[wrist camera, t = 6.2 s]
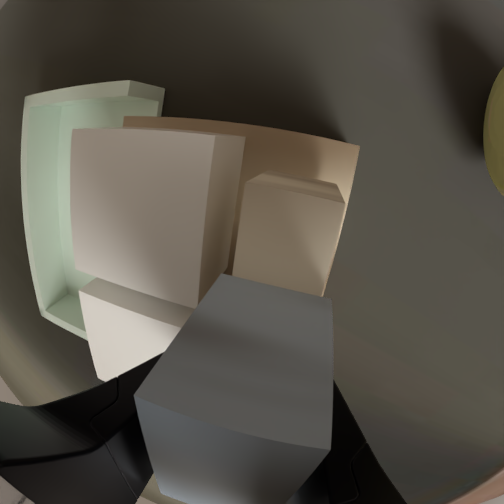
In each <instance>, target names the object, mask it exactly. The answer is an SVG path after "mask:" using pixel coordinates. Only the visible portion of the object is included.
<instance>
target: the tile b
mask: <svg viewBox="0 0 504 504" xmlns="http://www.w3.org/2000/svg"><path fill="white" fill-rule="evenodd" d="M245 139H246V137H243V136H235V135H228V134H219V133H211V132H201V131H191V130H179V129H165V128H147V127H97V128H78V129H72V137H71V155H70V209H71V228H72V241H73V252H74V261H75V269H76V270H79V271H81V272H84V273H87V274H90V275H92V276H95V277H98V278H101V279H103V280H106V281H109V282H112V283H115V284H118V285H121V286H124V287H127V288H130V289H133V290H136V291H139V292H142V293H145V294H148V295H151V296H154V297H157V298H160V299H164V300H167V301H170V302H173V303H177V304H180V305H183V306H187V307H190V308H194V309H196V307H197V306H198V305H199V303H200V302H201V300H202V299H203V298H204V296H205V295H206V294H207V292H208V291H209V289H210V288H211V287H212V285H213V284H214V283H215V281H216V280H217V278H218V277H219V276H220V274H221V273H222V274H223V273H224V271H225V270H226V269H227V267H228V259H229V252H230V244H231V237H232V229H233V222H234V215H235V207H236V200H237V193H238V186H239V179H240V172H241V166H242V159H243V152H244V146H245Z"/></svg>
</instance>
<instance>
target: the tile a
mask: <svg viewBox="0 0 504 504" xmlns="http://www.w3.org/2000/svg"><path fill="white" fill-rule="evenodd" d="M78 291H79V297H80V303H81V308H82V314H83V319H84V324H85V329H86V333H87V338H88V342H89V346H90V350H91V354H92V358H93V362H94V366H95V369H96V373H97V376H98V378H99V379H101V380H103V381H105V382H106V381H108V380H110V379H112V378H114V377H118V375H120V374H122V373H124V372H126V371H128V370H130V369H132V368H134V367H136V366H138V365H140V364H142V363H144V362H146V361H147V360H149V359H151V358H153V357H155V356H157V355H159V354H161V353H163V352H165V350H166V349H167V348H168V346H169V345H170V343H171V342H172V341H173V339H174V338H175V336H176V335H177V334H178V332H179V331H180V329H181V328H182V327H183V325H184V324H185V323H186V321H187V320H188V318H189V317H190V316H191V314H192V313H193V311H194V310H195V309H194V308H190V307H187V306H183V305H180V304H177V303H173V302H170V301H167V300H164V299H160V298H157V297H154V296H151V295H148V294H145V293H142V292H139V291H136V290H133V289H130V288H127V287H124V286H121V285H118V284H115V283H112V282H109V281H106V280H103V279H101V278H98V277H96V278H95V279H93V280H92V281H91V282H89V283H88V284H86V285H85V286H84V287H82V288H81V289H80V290H78Z"/></svg>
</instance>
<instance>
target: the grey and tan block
mask: <svg viewBox="0 0 504 504" xmlns="http://www.w3.org/2000/svg"><path fill="white" fill-rule="evenodd" d="M345 204H346V203H345V201H344V199H343V197H342V195H341V192H340V190H339V188H338V186H337V184H335V183H331V182H327V181H322V180H318V179H313V178H309V177H304V176H299V175H294V174H289V173H284V172H279V171H274V170H267V171H265V172H264V173H262V174H260V175H258V176H256V177H254V178H253V179H251V180H249V181H247V182H245V189H244V196H243V202H242V209H241V216H240V223H239V230H238V237H237V244H236V251H235V258H234V265H233V272H232V276H230V275H226V274H222V273H221V274H220V276H219V277H218V278H217V280H216V281H215V283H214V284H213V285H212V287H211V288H210V289H209V291H208V292H207V294H206V295H205V296H204V298H203V299H202V300H201V302H200V303H199V305H198V306H197V307H196V309H195V310H194V311H193V313H192V314H191V316H190V317H189V318H188V320H187V321H186V323H185V324H184V325H183V327H182V328H181V329H180V331H179V332H178V334H177V335H176V336H175V338H174V339H173V341H172V342H171V343H170V345H169V346H168V348H167V349H166V350H165V352H164V353H163V355H162V356H161V357H160V359H159V360H158V362H157V363H156V364H155V366H154V367H153V369H152V370H151V371H150V373H149V374H148V376H147V377H146V378H145V380H144V381H143V383H142V384H141V386H140V387H139V388H138V390H137V391H136V393H135V394H134V399H135V404H136V408H137V413H138V417H139V421H140V425H141V429H142V433H143V437H144V441H145V444H146V448H147V451H148V455H149V458H150V462H151V465H152V468H153V471H154V474H155V477H156V480H157V483H158V486H159V489H160V492H161V494H164V495H166V496H169V497H172V498H174V499H177V500H180V501H183V502H185V503H188V504H285V503H286V502H287V501H288V500H289V499H290V498H291V497H292V496H293V495H294V493H295V492H296V491H297V490H298V489H299V488H300V487H301V486H302V484H303V483H304V482H305V481H306V480H307V479H308V477H309V476H310V475H311V474H312V473H313V471H314V470H315V469H316V468H317V467H318V465H319V464H320V463H321V462H322V460H323V459H324V458H325V457H326V455H327V454H328V453H329V451H330V450H331V435H332V412H333V318H332V299H330V298H325V297H321V294H322V291H323V288H324V284H325V281H326V277H327V274H328V270H329V267H330V263H331V259H332V256H333V252H334V248H335V245H336V241H337V237H338V233H339V229H340V225H341V221H342V217H343V213H344V209H345Z"/></svg>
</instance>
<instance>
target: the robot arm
mask: <svg viewBox="0 0 504 504" xmlns="http://www.w3.org/2000/svg"><path fill="white" fill-rule="evenodd" d="M163 353H164V352H163ZM163 353H161V354H159V355H157V356H155V357H153V358H151V359H149V360H147V361H146V362H144V363H142V364H140V365H138V366H136V367H134V368H132V369H130V370H128V371H126V372H124V373H122V374H120V375H118V377H114V378H112V379H110V380H108V381H106V382H104V383H102V384H99V385H97V386H95V387H93V388H90V389H88V390H85V391H82V392H80V393H77V394H74V395H71V396H68V397H65V398H62V399H59V400H56V401H53V402H50V403H47V404H43V405H39V406H29V407H28V406H20V405H15V404H10V403H6V402H1V401H0V504H135V503H136V502H137V499H138V498H139V496H140V495H141V493H142V491H143V490H144V488H145V486H146V485H147V483H148V481H149V479H150V478H151V476H152V474H153V473H154V471H153V468H152V465H151V462H150V458H149V455H148V451H147V448H146V444H145V441H144V437H143V433H142V429H141V425H140V421H139V417H138V413H137V408H136V404H135V399H134V394H135V393H136V391H137V390H138V388H139V387H140V386H141V384H142V383H143V381H144V380H145V378H146V377H147V376H148V374H149V373H150V371H151V370H152V369H153V367H154V366H155V364H156V363H157V362H158V360H159V359H160V357H161V356H162V355H163ZM366 442H367V441H366V439H365V437H364V435H363V433H362V431H361V430H360V428H359V426H358V424H357V422H356V420H355V418H354V416H353V415H352V413H351V411H350V409H349V407H348V405H347V403H346V402H345V400H344V398H343V396H342V394H341V392H340V390H339V389H338V387H337V385H336V383H335V381H334V379H333V412H332V435H331V450H330V451H329V453H328V454H327V455H326V457H325V458H324V459H323V460H322V462H321V463H320V464H319V465H318V467H317V468H316V469H315V470H314V471H313V473H312V474H311V475H310V476H309V477H308V479H307V480H306V481H305V482H304V483H303V484H302V486H301V487H300V488H299V489H298V490H297V491H296V492H295V493H294V495H293V496H292V497H291V498H290V499H289V500H288V501H287V502H286V503H285V504H407V503H406V502H405V500H404V499H403V498H402V496H401V495H400V493H399V492H398V491H397V489H396V488H395V486H394V485H393V484H392V482H391V481H390V479H389V478H388V476H387V475H386V473H385V472H384V470H383V469H382V467H381V466H380V464H379V462H378V461H377V459H376V457H375V455H374V454H373V452H372V450H371V448H370V446H369V444H368V443H366Z"/></svg>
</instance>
